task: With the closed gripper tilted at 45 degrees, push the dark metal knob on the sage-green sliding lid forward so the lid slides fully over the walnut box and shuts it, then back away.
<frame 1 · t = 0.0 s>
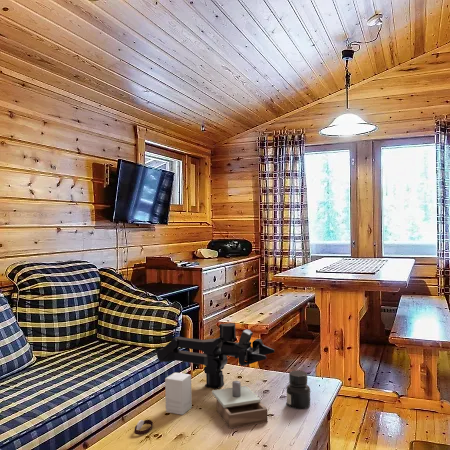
hand: (270, 354, 181), 17 cm above the table, tool horizontal, fingers open, 9 cm apart
ink bottle: (298, 405, 172), on the table
supplement box: (178, 410, 169), on the table
walnut box: (241, 416, 162), on the table
watch: (143, 431, 153), on the table
box lid: (235, 389, 168), point 8 cm above the table, slide at 6.0 cm
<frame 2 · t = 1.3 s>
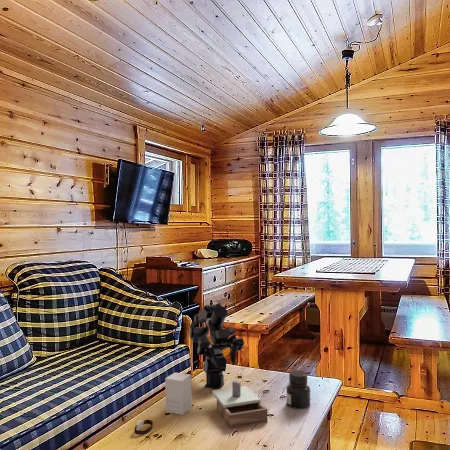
hand: (225, 365, 178), 13 cm above the table, tool tilted 45°, fingers open, 7 cm apart
nothing on the table moved.
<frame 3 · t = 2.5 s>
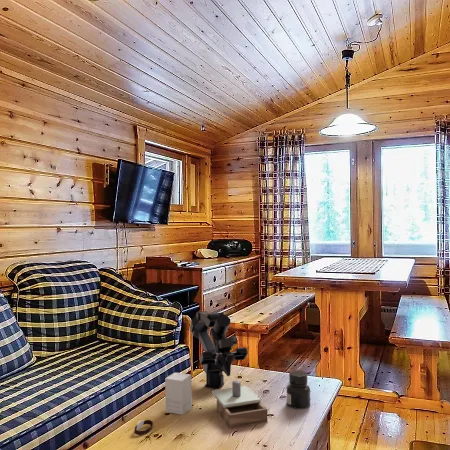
hand: (229, 375, 175), 10 cm above the table, tool tilted 45°, fingers closed
nothing on the table moved.
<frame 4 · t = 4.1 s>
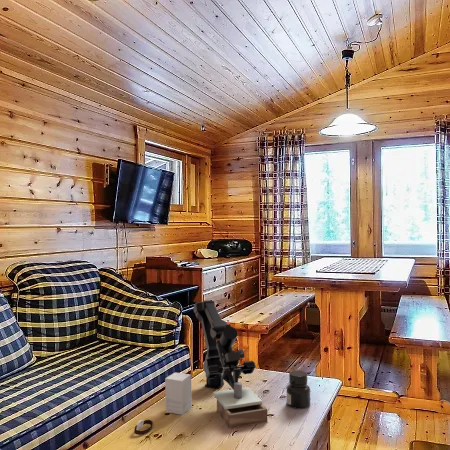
hand: (236, 391, 167), 7 cm above the table, tool tilted 45°, fingers closed, pressing on box lid
box lid: (237, 390, 166), point 8 cm above the table, slide at 4.4 cm, touching gripper
everything else where it was.
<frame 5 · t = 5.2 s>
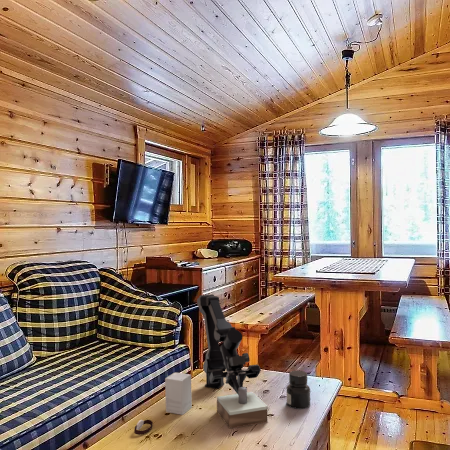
hand: (240, 396, 163), 7 cm above the table, tool tilted 45°, fingers closed, pressing on box lid
box lid: (241, 395, 162), point 8 cm above the table, slide at -0.4 cm, touching gripper
everything else where it was.
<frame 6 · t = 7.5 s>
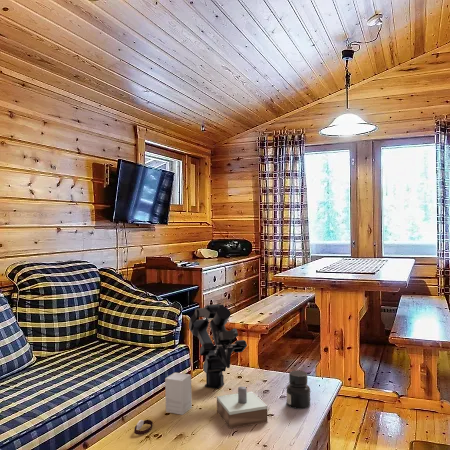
hand: (228, 367, 176), 13 cm above the table, tool tilted 40°, fingers closed
box lid: (241, 395, 162), point 8 cm above the table, slide at 0.0 cm
everything else where it was.
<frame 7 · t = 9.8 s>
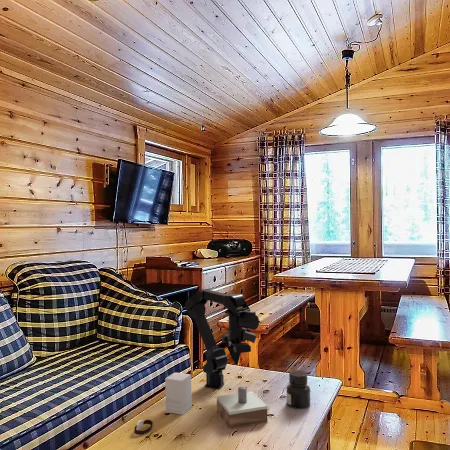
hand: (236, 364, 183), 12 cm above the table, tool pointing down, fingers closed
nothing on the table moved.
at the end: box lid slide at 0.0 cm; supplement box moved 0.2 cm from its start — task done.
